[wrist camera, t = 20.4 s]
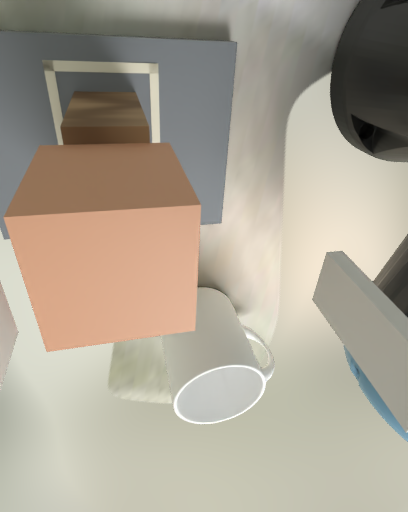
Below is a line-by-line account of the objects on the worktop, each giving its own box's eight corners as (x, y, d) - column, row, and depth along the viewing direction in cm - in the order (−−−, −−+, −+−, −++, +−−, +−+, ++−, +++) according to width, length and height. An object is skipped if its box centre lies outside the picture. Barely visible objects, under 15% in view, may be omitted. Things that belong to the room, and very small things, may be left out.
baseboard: (230, 41, 24) (237, 42, 23) (216, 215, 32) (221, 223, 31) (-57, 27, 20) (-67, 28, 19) (8, 230, 28) (4, 239, 27)
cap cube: (169, 142, 17) (201, 205, 11) (170, 244, 20) (195, 330, 15) (39, 145, 16) (3, 217, 10) (63, 253, 19) (46, 351, 13)
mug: (239, 343, 44) (272, 422, 35) (149, 337, 39) (161, 425, 31) (268, 292, 40) (312, 367, 31) (170, 279, 35) (191, 363, 27)
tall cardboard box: (135, 92, 23) (149, 126, 16) (141, 199, 28) (154, 262, 21) (74, 91, 23) (60, 126, 15) (90, 201, 27) (85, 268, 20)
